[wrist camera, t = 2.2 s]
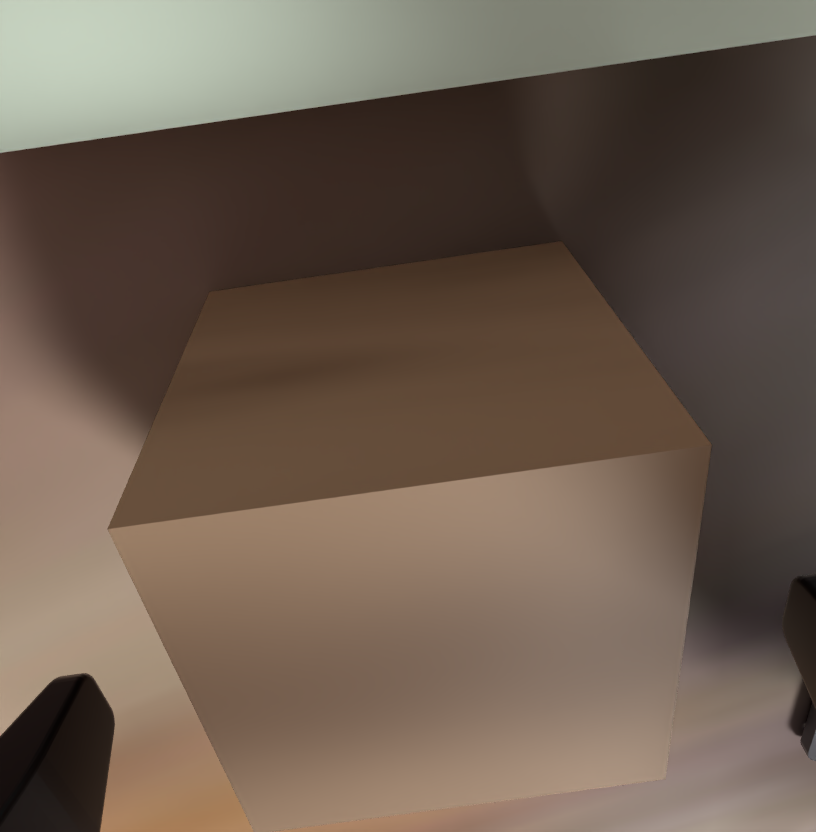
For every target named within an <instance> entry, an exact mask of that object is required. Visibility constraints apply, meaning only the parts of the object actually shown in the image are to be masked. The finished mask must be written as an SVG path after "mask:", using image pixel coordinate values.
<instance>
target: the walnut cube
mask: <svg viewBox="0 0 816 832" xmlns="http://www.w3.org/2000/svg"><path fill="white" fill-rule="evenodd" d="M711 447H712V444H711V443H710V442H709V440H708V439H707V438H706V436H705V435H704V433H703V432H702V431H701V429H700V428H699V427H698V425H697V424H696V423H695V421H694V420H693V419H692V417H691V416H690V414H689V413H688V412H687V410H686V409H685V408H684V406H683V405H682V404H681V402H680V401H679V400H678V398H677V397H676V395H675V394H674V393H673V391H672V390H671V389H670V387H669V386H668V385H667V383H666V382H665V381H664V379H663V378H662V376H661V375H660V374H659V372H658V371H657V370H656V368H655V367H654V366H653V364H652V363H651V362H650V360H649V359H648V357H647V356H646V355H645V353H644V352H643V351H642V349H641V348H640V347H639V345H638V344H637V343H636V341H635V340H634V338H633V337H632V336H631V334H630V333H629V332H628V330H627V329H626V328H625V326H624V325H623V324H622V322H621V321H620V319H619V318H618V317H617V315H616V314H615V313H614V311H613V310H612V309H611V307H610V306H609V305H608V303H607V302H606V300H605V299H604V298H603V296H602V295H601V294H600V292H599V291H598V290H597V288H596V287H595V286H594V284H593V283H592V281H591V280H590V279H589V277H588V276H587V275H586V273H585V272H584V271H583V269H582V268H581V267H580V265H579V264H578V262H577V261H576V260H575V258H574V257H573V256H572V254H571V253H570V252H569V250H568V249H567V248H566V246H565V245H564V243H563V242H562V241H559V242H552V243H545V244H538V245H531V246H524V247H517V248H510V249H503V250H496V251H489V252H482V253H475V254H468V255H461V256H454V257H447V258H441V259H434V260H427V261H420V262H413V263H406V264H399V265H392V266H385V267H378V268H371V269H364V270H357V271H350V272H343V273H336V274H329V275H323V276H316V277H309V278H302V279H295V280H288V281H281V282H274V283H267V284H260V285H253V286H246V287H239V288H232V289H225V290H218V291H211V292H209V294H208V296H207V299H206V301H205V303H204V306H203V308H202V310H201V313H200V315H199V317H198V320H197V322H196V324H195V327H194V329H193V331H192V334H191V336H190V338H189V341H188V343H187V345H186V348H185V350H184V352H183V355H182V357H181V359H180V362H179V364H178V366H177V369H176V371H175V373H174V376H173V378H172V380H171V383H170V385H169V387H168V390H167V392H166V394H165V397H164V399H163V401H162V404H161V406H160V408H159V410H158V413H157V415H156V417H155V420H154V422H153V424H152V427H151V429H150V431H149V434H148V436H147V438H146V441H145V443H144V445H143V448H142V450H141V452H140V455H139V457H138V459H137V462H136V464H135V466H134V469H133V471H132V473H131V476H130V478H129V480H128V483H127V485H126V487H125V490H124V492H123V494H122V497H121V499H120V501H119V504H118V506H117V508H116V511H115V513H114V515H113V518H112V520H111V522H110V525H109V527H108V531H109V533H110V535H111V537H112V539H113V541H114V544H115V546H116V548H117V550H118V552H119V554H120V556H121V558H122V560H123V562H124V564H125V566H126V568H127V570H128V573H129V575H130V577H131V579H132V581H133V583H134V585H135V587H136V589H137V591H138V593H139V595H140V597H141V599H142V601H143V604H144V606H145V608H146V610H147V612H148V614H149V616H150V618H151V620H152V622H153V624H154V626H155V628H156V630H157V632H158V635H159V637H160V639H161V641H162V643H163V645H164V647H165V649H166V651H167V653H168V655H169V657H170V659H171V661H172V663H173V666H174V668H175V670H176V672H177V674H178V676H179V678H180V680H181V682H182V684H183V686H184V688H185V690H186V692H187V695H188V697H189V699H190V701H191V703H192V705H193V707H194V709H195V711H196V713H197V715H198V717H199V719H200V721H201V723H202V726H203V728H204V730H205V732H206V734H207V736H208V738H209V740H210V742H211V744H212V746H213V748H214V750H215V752H216V754H217V757H218V759H219V761H220V763H221V765H222V767H223V769H224V771H225V773H226V775H227V777H228V779H229V781H230V783H231V786H232V788H233V790H234V792H235V794H236V796H237V798H238V800H239V802H240V804H241V806H242V808H243V810H244V812H245V814H246V817H247V819H248V821H249V823H250V825H251V827H252V829H253V831H254V832H274V831H282V830H289V829H297V828H304V827H312V826H319V825H327V824H334V823H342V822H349V821H357V820H364V819H372V818H379V817H387V816H394V815H402V814H409V813H417V812H424V811H432V810H439V809H447V808H454V807H462V806H469V805H477V804H484V803H492V802H499V801H507V800H514V799H522V798H529V797H537V796H544V795H552V794H559V793H567V792H574V791H582V790H589V789H597V788H604V787H612V786H619V785H627V784H634V783H642V782H649V781H657V780H664V779H665V778H666V771H667V763H668V756H669V749H670V742H671V735H672V728H673V720H674V713H675V706H676V699H677V692H678V684H679V677H680V670H681V663H682V656H683V649H684V641H685V634H686V627H687V620H688V613H689V605H690V598H691V591H692V584H693V577H694V570H695V562H696V555H697V548H698V541H699V534H700V526H701V519H702V512H703V505H704V498H705V491H706V483H707V476H708V469H709V462H710V455H711Z"/></svg>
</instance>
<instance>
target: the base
mask: <svg viewBox="0 0 816 832" xmlns="http://www.w3.org/2000/svg"><path fill="white" fill-rule="evenodd" d="M813 35H816V0H0V153H3V152H10V151H17V150H24V149H31V148H38V147H45V146H51V145H58V144H65V143H72V142H79V141H86V140H93V139H100V138H107V137H114V136H121V135H128V134H135V133H142V132H148V131H155V130H162V129H169V128H176V127H183V126H190V125H197V124H204V123H211V122H218V121H225V120H232V119H238V118H245V117H252V116H259V115H266V114H273V113H280V112H287V111H294V110H301V109H308V108H315V107H322V106H329V105H335V104H342V103H349V102H356V101H363V100H370V99H377V98H384V97H391V96H398V95H405V94H412V93H419V92H425V91H432V90H439V89H446V88H453V87H460V86H467V85H474V84H481V83H488V82H495V81H502V80H509V79H515V78H522V77H529V76H536V75H543V74H550V73H557V72H564V71H571V70H578V69H585V68H592V67H599V66H606V65H612V64H619V63H626V62H633V61H640V60H647V59H654V58H661V57H668V56H675V55H682V54H689V53H696V52H702V51H709V50H716V49H723V48H730V47H737V46H744V45H751V44H758V43H765V42H772V41H779V40H786V39H792V38H799V37H806V36H813Z"/></svg>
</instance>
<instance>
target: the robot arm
mask: <svg viewBox="0 0 816 832" xmlns="http://www.w3.org/2000/svg"><path fill="white" fill-rule="evenodd" d="M782 627H783V632H784V636H785V638H786V641H787V643H788V646H789V648H790V650H791V653H792V655H793V657H794V660H795V662H796V664H797V667H798V669H799V671H800V673H801V676H802V678H803V680H804V683H805V685H806V687H807V690H808V692H809V694H810V697H811V699H812V701H813V702H812V706H811V709H810V712H809V715H808V718H807V721H806V725H805V728H804V731H803V734H802V737H801V745H802V747H803V749H804V750H805V752H806V754H807V756H808V757H809V758H810V759H811V760H814V761H816V574H809V575H802V576H798V577H796V578H795V579H794V580H793V581H792V583H791V585H790V590H789V594H788V598H787V602H786V606H785V610H784V614H783V619H782ZM114 727H115V721H114V715H113V711H112V709H111V707H110V705H109V703H108V702H107V700H106V698H105V697H104V695H103V693H102V692H101V690H100V688H99V686H98V685H97V683H96V681H95V680H94V678H93V677H92V676H91V675H89V674H87V673H82V674H74V675H67V676H61V677H58V678H56V679H54V680H53V681H52V682H50V683H49V684H48V685H47V686H46V687H45V689H44V690H43V691H42V692H41V693H40V694H39V695H38V696H37V697H36V698H35V699H34V700H33V701H32V703H31V704H30V705H29V706H28V707H27V708H26V709H25V710H24V711H23V712H22V713H21V714H20V716H19V717H18V718H17V719H16V720H15V721H14V722H13V723H12V724H11V725H10V726H9V727H8V728H7V730H6V731H5V732H4V733H3V734H2V735H1V736H0V832H100V828H101V821H102V814H103V807H104V800H105V793H106V785H107V778H108V771H109V764H110V757H111V750H112V743H113V735H114Z"/></svg>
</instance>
